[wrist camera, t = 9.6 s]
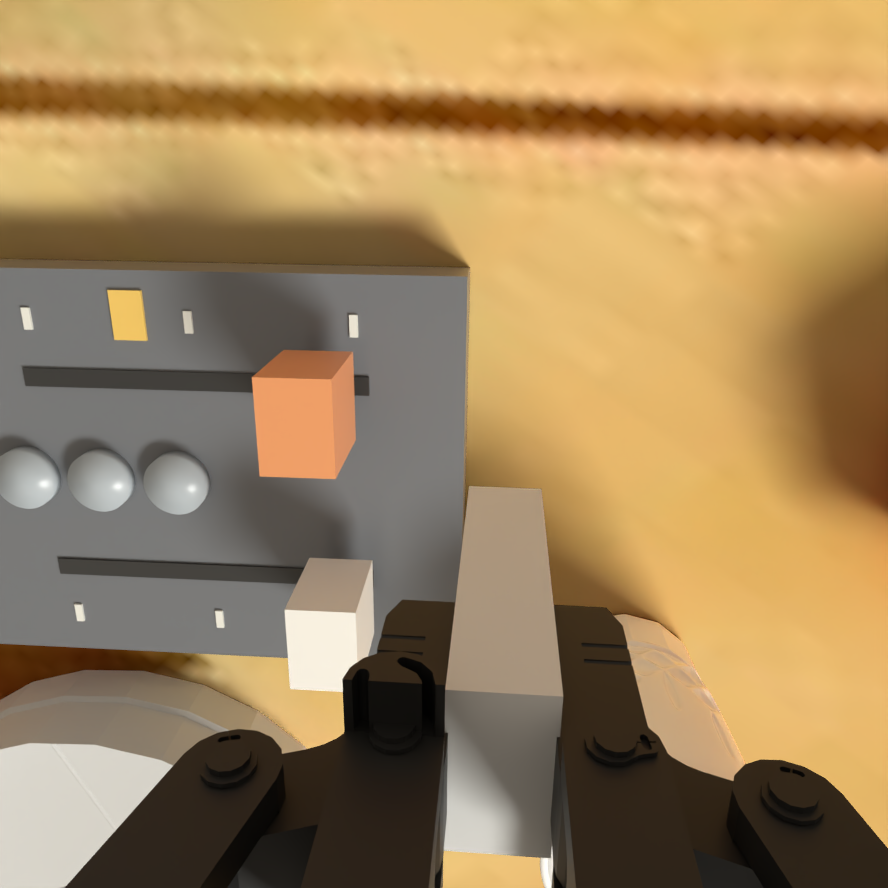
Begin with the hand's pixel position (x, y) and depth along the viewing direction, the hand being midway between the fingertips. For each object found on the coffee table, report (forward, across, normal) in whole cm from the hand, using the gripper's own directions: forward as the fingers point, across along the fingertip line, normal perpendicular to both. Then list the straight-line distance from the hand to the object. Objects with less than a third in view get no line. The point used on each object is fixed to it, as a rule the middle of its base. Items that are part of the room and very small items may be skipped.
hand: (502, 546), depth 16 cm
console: (+15, -11, -4) cm, 19 cm away
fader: (+12, -6, 0) cm, 14 cm away
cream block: (+12, -6, -8) cm, 16 cm away
